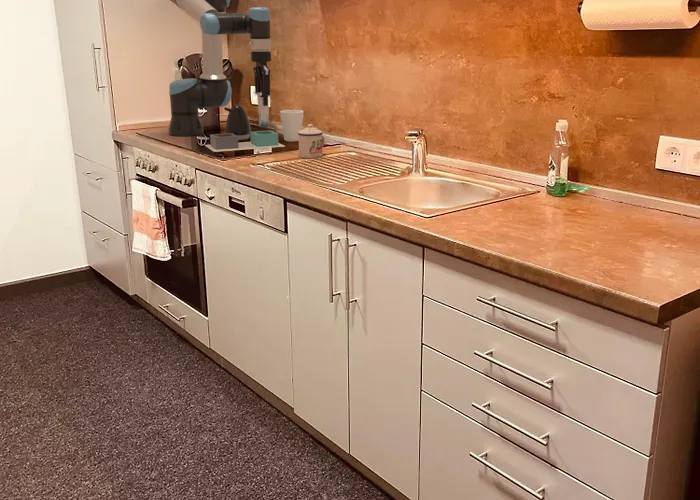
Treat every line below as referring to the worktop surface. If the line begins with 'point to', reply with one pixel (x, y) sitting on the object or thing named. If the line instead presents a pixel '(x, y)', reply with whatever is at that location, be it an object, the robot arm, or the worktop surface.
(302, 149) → the teacup with lid
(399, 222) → the worktop surface
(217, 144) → the mount board
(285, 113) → the foam cup
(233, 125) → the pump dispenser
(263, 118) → the lock pin
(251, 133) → the socket
